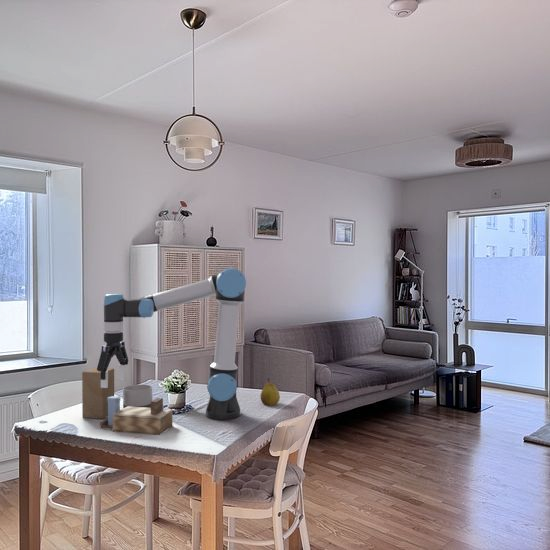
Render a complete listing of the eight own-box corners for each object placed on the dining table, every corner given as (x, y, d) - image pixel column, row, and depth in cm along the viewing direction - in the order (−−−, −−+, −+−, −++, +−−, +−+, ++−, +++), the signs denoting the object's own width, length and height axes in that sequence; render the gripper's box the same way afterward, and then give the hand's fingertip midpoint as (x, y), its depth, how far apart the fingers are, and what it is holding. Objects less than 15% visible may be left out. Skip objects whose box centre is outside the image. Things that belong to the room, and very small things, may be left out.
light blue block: (121, 425, 214) (121, 396, 214) (117, 428, 211) (117, 398, 211) (110, 424, 216) (110, 395, 215) (105, 427, 212) (105, 397, 212)
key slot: (125, 424, 216) (125, 418, 216) (116, 429, 209) (116, 423, 209) (109, 423, 218) (109, 417, 218) (100, 428, 211) (100, 422, 211)
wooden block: (103, 419, 224) (102, 372, 223) (82, 417, 226) (81, 371, 225) (114, 412, 233) (114, 368, 233) (94, 411, 235) (94, 367, 235)
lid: (172, 411, 213) (171, 397, 213) (159, 418, 203) (159, 404, 202) (127, 408, 218) (127, 394, 218) (113, 415, 207) (113, 401, 207)
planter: (141, 415, 229) (141, 392, 229) (117, 413, 233) (117, 389, 233) (157, 408, 241) (157, 385, 241) (134, 405, 245) (134, 383, 245)
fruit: (276, 407, 242) (276, 381, 242) (258, 405, 245) (258, 380, 245) (282, 403, 250) (282, 378, 250) (264, 401, 253) (264, 376, 253)
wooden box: (172, 426, 214) (172, 411, 214) (159, 435, 202) (159, 419, 202) (128, 422, 219) (127, 408, 218) (112, 431, 207) (112, 416, 207)
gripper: (120, 328, 226) (120, 377, 226) (87, 335, 202) (87, 390, 202) (136, 328, 224) (136, 378, 224) (105, 336, 200) (104, 391, 200)
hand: (113, 384), depth 213 cm, fingers open, 13 cm apart
